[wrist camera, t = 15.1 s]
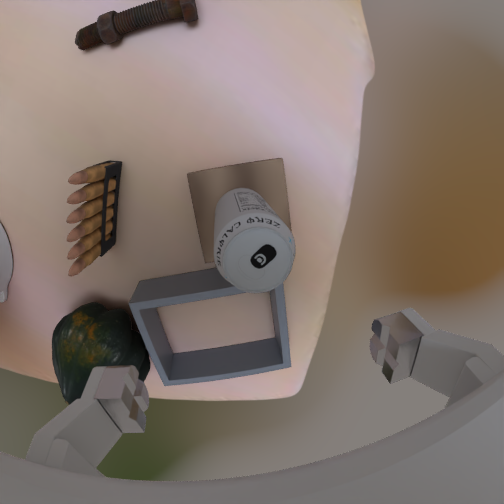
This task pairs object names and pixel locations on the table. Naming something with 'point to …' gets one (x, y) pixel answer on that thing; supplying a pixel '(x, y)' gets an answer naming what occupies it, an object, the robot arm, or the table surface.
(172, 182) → the table surface
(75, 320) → the squash
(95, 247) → the ammunition clip
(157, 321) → the grey rectangular open frame
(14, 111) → the table surface
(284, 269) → the energy drink can
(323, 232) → the table surface
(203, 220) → the walnut pad
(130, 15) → the bolt
